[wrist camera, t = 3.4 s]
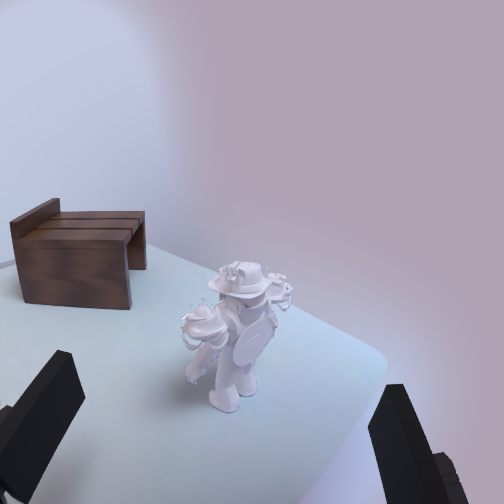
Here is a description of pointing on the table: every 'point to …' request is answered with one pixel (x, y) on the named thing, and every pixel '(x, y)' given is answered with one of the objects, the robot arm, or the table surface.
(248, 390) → the hat wearing toy figure
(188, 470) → the table surface
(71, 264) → the rack
